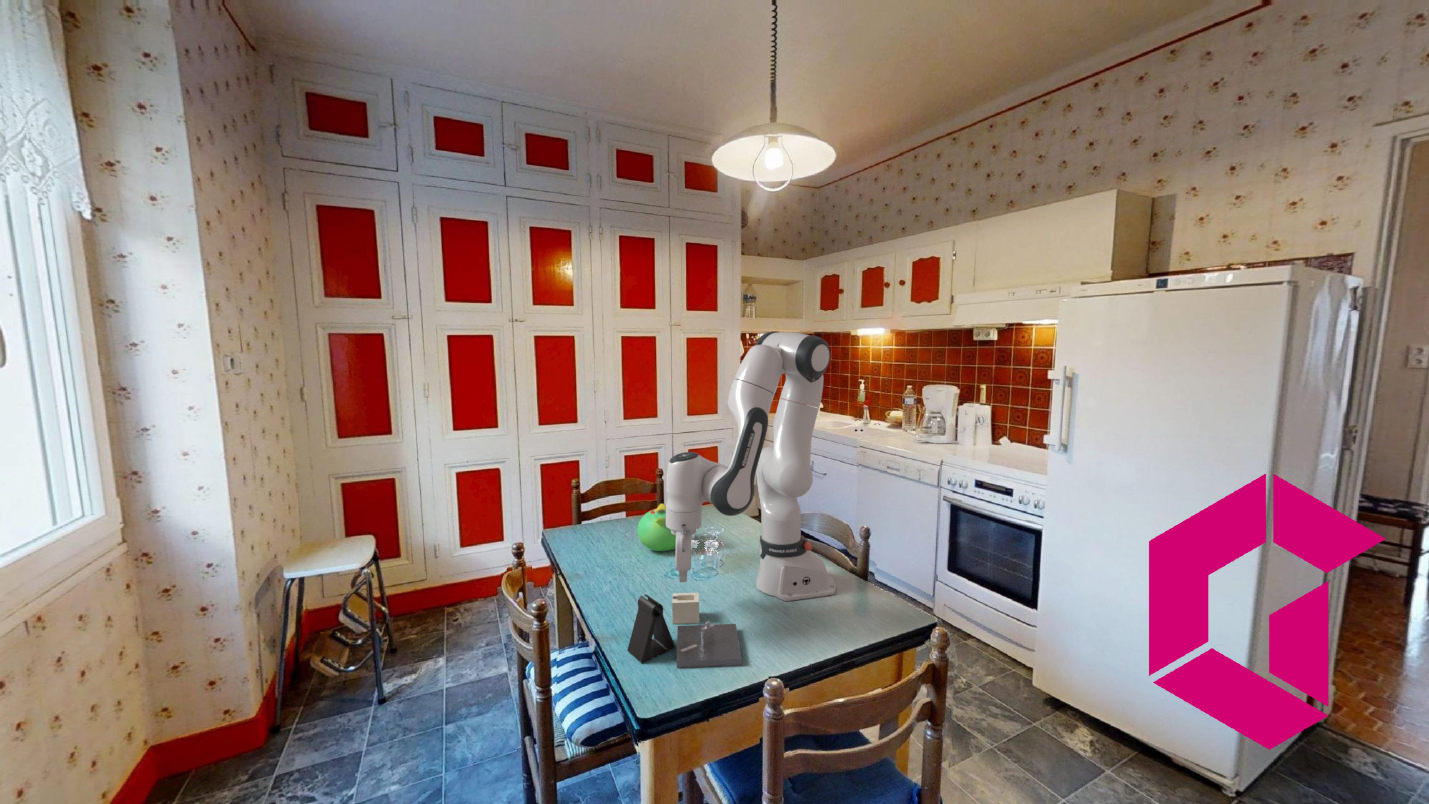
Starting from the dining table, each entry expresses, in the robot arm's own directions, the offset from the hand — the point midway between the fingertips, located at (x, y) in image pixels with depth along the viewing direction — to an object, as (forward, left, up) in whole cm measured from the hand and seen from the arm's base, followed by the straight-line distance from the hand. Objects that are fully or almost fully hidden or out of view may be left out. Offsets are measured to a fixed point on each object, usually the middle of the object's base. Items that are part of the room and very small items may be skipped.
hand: (683, 572), depth 129 cm
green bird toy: (+6, -45, -13) cm, 47 cm away
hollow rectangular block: (-1, 0, -12) cm, 12 cm away
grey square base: (-6, +13, -12) cm, 19 cm away
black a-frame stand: (+7, +13, -13) cm, 19 cm away
